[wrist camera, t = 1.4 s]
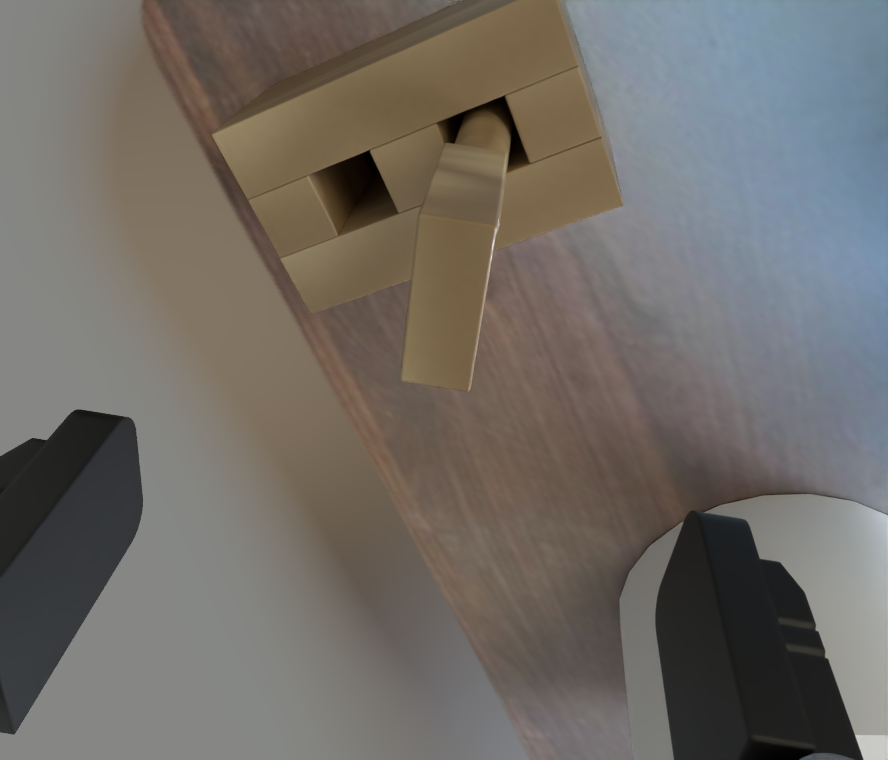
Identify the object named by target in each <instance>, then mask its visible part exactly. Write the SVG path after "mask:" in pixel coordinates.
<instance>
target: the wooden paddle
mask: <svg viewBox="0 0 888 760" xmlns="http://www.w3.org/2000/svg"><path fill="white" fill-rule="evenodd" d="M513 121H514V120H513V118H512V115H511V112H510V109H509V107H508V104H507V101H506V99H505V95H504V96H501V97H499V98H497V99H494V100H492V101H489V102H487V103H484V104H482V105H479V106H477V107H474V108H472V109H469V110H467V111H465V114H464V117H463V120H462V123H461V126H460V129H459V132H458V135H457V138H456V142H455V144H452V143H445V144H444V146H443V149H442V151H441V154H440V157H439V159H438V162H437V165H436V168H435V170H434V173H433V176H432V178H431V181H430V184H429V187H428V189H427V192H426V195H425V198H424V200H423V203H422V206H421V208H420V211H419V214H418V218H417V227H416V236H415V246H414V255H413V264H412V273H411V282H410V291H409V300H408V309H407V319H406V328H405V337H404V346H403V355H402V364H401V373H400V379H401V381H405V382H411V383H417V384H423V385H430V386H436V387H442V388H448V389H454V390H461V391H469V390H470V389H471V383H472V377H473V371H474V365H475V359H476V353H477V347H478V341H479V335H480V329H481V323H482V317H483V311H484V305H485V298H486V292H487V286H488V280H489V274H490V268H491V262H492V256H493V250H494V244H495V238H496V235H497V232H498V230H499V226H500V218H501V211H502V203H503V196H504V188H505V181H506V173H507V166H508V158H509V151H510V143H511V136H512V128H513Z"/></svg>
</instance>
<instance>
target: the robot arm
mask: <svg viewBox="0 0 888 760" xmlns="http://www.w3.org/2000/svg"><path fill="white" fill-rule="evenodd" d="M142 507H143V495H142V486H141V475H140V465H139V455H138V445H137V436H136V428H135V424H134V422H133V420H132V419H131V418H129V417H123V416H117V415H111V414H105V413H98V412H92V411H86V410H75V411H73V412H72V413H71V414H70V415H69V416H68V417H67V418H66V419H65V420H64V422H63V423H62V424H61V425H60V426H59V427H58V428H57V429H56V431H55V432H54V433H53V434H52V435H51V436H50V438H49V439H48V440H42V439H36V438H32V439H30V440H28V441H26V442H25V443H23V444H21V445H19V446H18V447H16V448H14V449H12V450H11V451H9V452H7V453H5V454H4V455H2V456H0V732H2V733H8V734H15V733H16V731H17V730H18V728H19V726H20V725H21V723H22V721H23V720H24V718H25V716H26V715H27V713H28V712H29V710H30V708H31V707H32V705H33V703H34V702H35V700H36V698H37V697H38V695H39V694H40V692H41V690H42V689H43V687H44V685H45V684H46V682H47V680H48V679H49V677H50V675H51V674H52V672H53V670H54V669H55V667H56V666H57V664H58V662H59V661H60V659H61V657H62V656H63V654H64V653H65V651H66V649H67V648H68V646H69V644H70V643H71V641H72V639H73V638H74V636H75V635H76V633H77V631H78V629H79V628H80V626H81V625H82V623H83V621H84V620H85V618H86V616H87V615H88V613H89V612H90V610H91V608H92V607H93V605H94V603H95V602H96V600H97V598H98V597H99V595H100V593H101V592H102V590H103V589H104V587H105V585H106V584H107V582H108V580H109V578H110V577H111V576H112V573H113V572H114V571H115V569H116V567H117V566H118V564H119V562H120V561H121V559H122V557H123V556H124V554H125V553H126V551H127V549H128V547H129V546H130V544H131V542H132V541H133V539H134V537H135V535H136V532H137V530H138V527H139V523H140V519H141V514H142ZM655 628H656V636H657V643H658V650H659V657H660V664H661V671H662V678H663V686H664V693H665V700H666V707H667V714H668V721H669V728H670V735H671V742H672V750H673V757H674V760H864V759H863V756H862V754H861V751H860V748H859V745H858V742H857V739H856V737H855V734H854V731H853V728H852V725H851V722H850V719H849V717H848V714H847V711H846V708H845V705H844V702H843V700H842V697H841V694H840V691H839V688H838V685H837V683H836V680H835V677H834V674H833V671H832V668H831V665H830V663H829V660H828V659H827V658H825V652H826V651H825V648H824V646H823V643H822V640H821V637H820V634H819V631H816V623H815V620H814V617H813V614H812V611H811V609H810V606H809V603H808V600H807V597H806V594H805V592H804V591H803V590H802V588H801V587H800V586H799V585H798V584H797V582H796V581H795V580H794V579H793V577H792V576H791V575H790V574H789V572H788V571H787V570H786V569H785V568H784V566H783V565H782V564H781V563H780V562H777V561H771V560H765V559H760V558H759V555H758V552H757V548H756V545H755V542H754V538H753V535H752V532H751V529H750V526H749V524H748V522H747V521H746V520H745V519H741V518H735V517H729V516H722V515H716V514H710V513H704V512H698V511H690V512H689V513H688V515H687V516H686V518H685V520H684V522H683V525H682V528H681V530H680V533H679V536H678V538H677V541H676V544H675V547H674V549H673V552H672V555H671V557H670V560H669V563H668V565H667V568H666V571H665V573H664V576H663V579H662V581H661V584H660V587H659V591H658V596H657V602H656V612H655Z"/></svg>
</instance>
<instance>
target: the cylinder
mask: <svg viewBox="0 0 888 760" xmlns="http://www.w3.org/2000/svg"><path fill="white" fill-rule="evenodd" d="M704 513H710V514H716V515H722V516H729V517H735V518H741V519H745V520H746V521H747V522H748V524H749V526H750V529H751V532H752V535H753V538H754V542H755V545H756V548H757V552H758V555H759V558H760V559H765V560H771V561H777V562H780V563H781V564H782V565H783V566H784V568H785V569H786V570H787V571H788V572H789V574H790V575H791V576H792V577H793V579H794V580H795V581H796V582H797V584H798V585H799V586H800V587H801V588H802V590H803V591H804V592H805V594H806V597H807V600H808V603H809V606H810V609H811V611H812V614H813V617H814V620H815V623H816V631H819V634H820V637H821V640H822V643H823V646H824V648H825V651H826V652H825V658H827V659H828V660H829V663H830V665H831V668H832V671H833V674H834V677H835V680H836V683H837V685H838V688H839V691H840V694H841V697H842V700H843V702H844V705H845V708H846V711H847V714H848V717H849V719H850V722H851V725H852V728H853V731H854V734H855V737H856V739H857V742H858V745H859V748H860V751H861V754H862V756H863V759H864V760H888V515H886V514H883V513H881V512H879V511H876V510H874V509H871V508H869V507H867V506H864V505H862V504H859V503H857V502H855V501H849V500H843V499H838V498H832V497H826V496H820V495H814V494H790V495H763V496H759V497H754V498H750V499H745V500H741V501H737V502H732V503H728V504H723V505H719V506H717V507H715V508H712V509H710V510H708V511H706V512H704ZM683 522H684V521H683ZM683 522H681V523H679V524H678V525H677V526H675V527H674V528H673V529H671V530H670V531H669V532H667V533H666V534H665V535H663V536H662V537H661V538H659V539H658V540H657V541H655V542H654V543H653V544H651V545H650V546H649V547H648V549H647V550H646V551H645V552H644V554H643V555H642V556H641V558H640V559H639V560H638V561H637V563H636V564H635V565H634V567H633V568H632V569H631V570H630V572H629V574H628V577H627V580H626V583H625V585H624V588H623V591H622V594H621V597H620V600H619V602H620V630H621V640H622V651H623V661H624V672H625V682H626V693H627V703H628V714H629V724H630V735H631V746H632V756H633V760H674V757H673V750H672V742H671V735H670V728H669V721H668V714H667V707H666V700H665V693H664V686H663V678H662V671H661V664H660V657H659V650H658V643H657V636H656V628H655V612H656V602H657V596H658V591H659V587H660V584H661V581H662V579H663V576H664V573H665V571H666V568H667V565H668V563H669V560H670V557H671V555H672V552H673V549H674V547H675V544H676V541H677V538H678V536H679V533H680V530H681V528H682V525H683Z"/></svg>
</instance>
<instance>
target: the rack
mask: <svg viewBox="0 0 888 760" xmlns="http://www.w3.org/2000/svg"><path fill="white" fill-rule="evenodd" d="M504 95H505V99H506V101H507V104H508V107H509V109H510V112H511V115H512V118H513V120H514V121H513V128H512V136H511V143H510V151H509V158H508V166H507V173H506V181H505V188H504V196H503V203H502V211H501V218H500V226H499V230H498V232H497V235H496V238H495V244H494V250H497V249H500V248H503V247H506V246H509V245H511V244H514V243H517V242H520V241H523V240H526V239H529V238H532V237H534V236H537V235H540V234H543V233H546V232H549V231H552V230H555V229H557V228H560V227H563V226H566V225H569V224H572V223H575V222H577V221H580V220H583V219H586V218H589V217H592V216H595V215H598V214H600V213H603V212H606V211H609V210H612V209H615V208H618V207H620V206H623V205H624V203H623V199H622V194H621V190H620V185H619V180H618V176H617V171H616V167H615V162H614V158H613V153H612V149H611V144H610V141H609V138H608V135H607V132H606V129H605V126H604V122H603V119H602V116H601V113H600V110H599V107H598V104H597V101H596V97H595V94H594V91H593V89H592V85H591V82H590V79H589V76H588V73H587V69H586V66H585V63H584V60H583V57H582V54H581V51H580V48H579V44H578V41H577V38H576V35H575V32H574V29H573V26H572V22H571V19H570V16H569V13H568V10H567V7H566V4H565V1H564V0H463V1H460V2H458V3H456V4H454V5H451V6H449V7H447V8H445V9H442V10H440V11H438V12H436V13H434V14H431V15H429V16H427V17H425V18H422V19H420V20H418V21H416V22H413V23H411V24H409V25H407V26H405V27H402V28H400V29H398V30H396V31H393V32H391V33H389V34H387V35H384V36H382V37H380V38H378V39H376V40H373V41H371V42H369V43H367V44H364V45H362V46H360V47H358V48H355V49H353V50H351V51H349V52H347V53H344V54H342V55H340V56H338V57H335V58H333V59H331V60H329V61H327V62H324V63H322V64H320V65H318V66H315V67H313V68H311V69H309V70H306V71H304V72H302V73H300V74H298V75H295V76H293V77H291V78H289V79H286V80H284V81H282V82H280V83H277V84H275V85H273V86H271V87H269V88H268V89H266V90H265V91H264V92H263V93H262V94H260V95H259V96H258V97H257V98H255V99H254V100H253V101H252V102H251V103H249V104H248V105H247V106H246V107H244V108H243V109H242V110H241V111H239V112H238V113H237V114H236V115H235V116H233V117H232V118H231V119H230V120H228V121H227V122H226V123H225V124H223V125H222V126H221V127H220V128H219V129H217V130H216V131H215V132H214V133H212V137H213V139H214V140H215V142H216V144H217V146H218V148H219V149H220V151H221V153H222V155H223V157H224V159H225V160H226V162H227V164H228V166H229V168H230V169H231V171H232V173H233V175H234V177H235V178H236V180H237V182H238V184H239V186H240V187H241V189H242V191H243V193H244V195H245V196H246V198H247V199H248V202H249V204H250V205H251V207H252V209H253V211H254V213H255V214H256V216H257V218H258V220H259V222H260V223H261V225H262V227H263V229H264V231H265V233H266V234H267V236H268V238H269V240H270V242H271V243H272V245H273V247H274V249H275V251H276V252H277V254H278V256H279V257H281V258H280V260H281V262H282V263H283V265H284V267H285V269H286V271H287V272H288V274H289V276H290V278H291V280H292V282H293V283H294V285H295V287H296V289H297V291H298V292H299V294H300V296H301V298H302V300H303V301H304V303H305V305H306V307H307V309H308V310H309V312H310V314H314V313H316V312H319V311H322V310H325V309H328V308H331V307H334V306H337V305H339V304H342V303H345V302H348V301H351V300H354V299H357V298H360V297H362V296H365V295H368V294H371V293H374V292H377V291H380V290H382V289H385V288H388V287H391V286H394V285H397V284H400V283H403V282H405V281H408V280H411V273H412V264H413V255H414V246H415V236H416V227H417V218H418V214H419V211H420V208H421V206H422V203H423V200H424V198H425V195H426V192H427V189H428V187H429V184H430V181H431V178H432V176H433V173H434V170H435V168H436V165H437V162H438V159H439V157H440V154H441V151H442V149H443V146H444V144H445V143H452V144H455V142H456V138H457V135H458V132H459V129H460V126H461V123H462V120H463V117H464V114H465V111H467V110H469V109H472V108H474V107H477V106H479V105H482V104H484V103H487V102H489V101H492V100H494V99H497V98H499V97H501V96H504ZM368 150H370V153H371V155H372V157H373V159H374V162H375V164H376V166H377V168H378V170H379V172H378V173H376V174H373V175H372V172H371V170H370V168H369V165H368V163H367V161H366V159H365V157H364V155H363V152H366V151H368ZM494 250H493V251H494Z"/></svg>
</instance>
